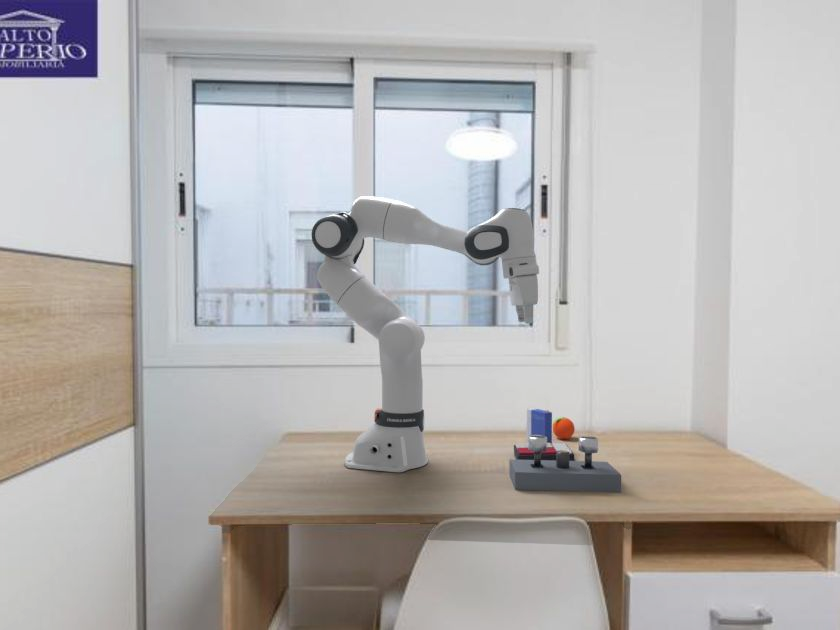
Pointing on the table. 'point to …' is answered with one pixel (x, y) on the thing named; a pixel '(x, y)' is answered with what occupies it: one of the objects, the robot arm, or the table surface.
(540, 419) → the walkman
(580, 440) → the knob
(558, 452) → the dial
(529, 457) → the calculator
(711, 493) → the table surface
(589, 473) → the panel
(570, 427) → the clementine
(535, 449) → the knob
